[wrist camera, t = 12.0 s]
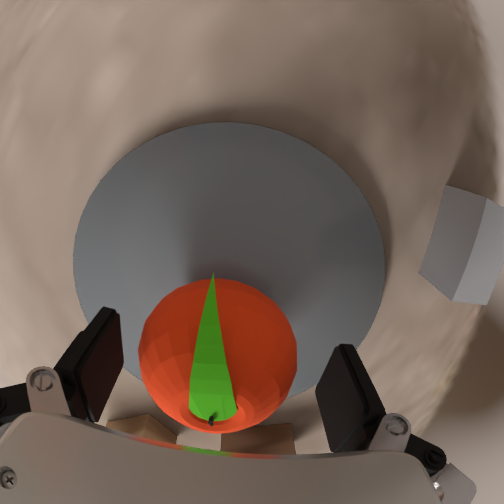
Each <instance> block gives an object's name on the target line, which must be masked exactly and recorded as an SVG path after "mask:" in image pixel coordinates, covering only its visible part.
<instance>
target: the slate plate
mask: <svg viewBox="0 0 504 504" xmlns="http://www.w3.org/2000/svg"><path fill="white" fill-rule="evenodd" d="M73 271H74V279H75V286H76V291H77V295H78V298H79V302H80V305H81V308H82V310H83V313H84V315H85V317H86V319H87V322H88V324H89V323H90V322H91V321H92V320H93V318H94V317H95V316H96V314H97V313H98V312H99V310H100V309H101V308H102V307H103V306H105V307H108V308H112V309H115V310H116V312H117V313H119V314H120V323H121V335H122V346H123V355H124V364H123V367H124V368H125V369H126V370H127V371H128V372H130V373H131V374H132V375H133V376H135V377H136V378H138V379H139V380H141V381H142V382H143V380H142V377H141V371H140V365H139V356H138V347H139V342H140V338H141V334H142V331H143V327H144V324H145V321H146V319H147V318H148V317H149V315H150V314H151V312H152V311H153V310H154V308H155V307H156V306H157V305H158V303H159V302H160V301H161V300H162V299H163V298H164V297H165V296H166V295H168V294H169V293H171V292H172V291H174V290H175V289H176V288H178V287H181V286H184V285H187V284H190V283H193V282H196V281H199V280H203V279H212V276H213V272H214V279H215V278H222V279H228V280H235V281H239V282H241V283H244V284H246V285H249V286H252V287H254V288H255V289H257V290H259V291H260V292H262V293H263V294H264V295H266V296H267V297H269V298H270V299H271V300H273V301H274V302H275V303H276V304H277V306H278V307H279V308H280V309H281V311H282V312H283V313H284V314H285V316H286V318H287V320H288V322H289V324H290V326H291V328H292V331H293V333H294V336H295V339H296V341H297V372H296V375H295V378H294V380H293V383H292V386H291V388H290V391H289V393H288V396H287V398H289V397H291V396H294V395H296V394H298V393H301V392H303V391H305V390H307V389H309V388H311V387H312V386H314V385H316V384H318V382H319V380H320V378H321V376H322V374H323V372H324V370H325V368H326V366H327V363H328V361H329V359H330V357H331V355H332V352H333V350H334V348H335V347H336V346H338V345H339V344H353V346H354V347H355V349H357V348H358V347H359V345H360V344H361V342H362V341H363V339H364V338H365V337H366V335H367V333H368V331H369V329H370V327H371V325H372V324H373V322H374V319H375V317H376V314H377V311H378V309H379V306H380V302H381V298H382V293H383V289H384V280H385V255H384V246H383V242H382V237H381V233H380V229H379V226H378V224H377V221H376V218H375V216H374V213H373V211H372V209H371V207H370V205H369V204H368V202H367V200H366V198H365V197H364V195H363V193H362V192H361V190H360V189H359V188H358V186H357V185H356V184H355V183H354V181H353V180H352V179H351V178H350V177H349V175H348V174H347V173H346V172H345V171H344V170H343V169H342V168H341V167H340V166H338V165H337V164H336V163H335V162H334V161H333V160H332V159H331V158H329V157H328V156H327V155H325V154H324V153H322V152H321V151H319V150H318V149H316V148H315V147H313V146H311V145H310V144H308V143H307V142H305V141H302V140H300V139H298V138H296V137H294V136H291V135H289V134H287V133H284V132H282V131H278V130H274V129H271V128H267V127H263V126H260V125H254V124H245V123H236V122H218V123H203V124H198V125H193V126H188V127H183V128H179V129H176V130H173V131H170V132H168V133H165V134H162V135H160V136H157V137H155V138H153V139H151V140H149V141H148V142H146V143H144V144H142V145H141V146H139V147H137V148H135V149H134V150H133V151H131V152H130V153H129V154H128V155H126V156H125V157H124V158H123V159H121V160H120V161H119V162H118V163H116V164H115V165H114V167H113V168H112V169H111V170H110V171H109V172H108V173H107V174H106V175H105V176H104V177H103V179H102V180H101V181H100V183H99V184H98V186H97V187H96V189H95V190H94V192H93V193H92V195H91V196H90V198H89V200H88V202H87V204H86V206H85V209H84V211H83V213H82V215H81V218H80V222H79V225H78V229H77V232H76V236H75V244H74V252H73Z"/></svg>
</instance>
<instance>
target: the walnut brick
mask: <svg viewBox="0 0 504 504" xmlns="http://www.w3.org/2000/svg"><path fill="white" fill-rule="evenodd" d="M221 451H224V452H235V453H248V454H271V455H296V451H295V445H294V439H293V433H292V427H291V423H288V424H279V425H269V426H256V427H248V428H246V429H243V430H240V431H236V432H230V433H221Z"/></svg>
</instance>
